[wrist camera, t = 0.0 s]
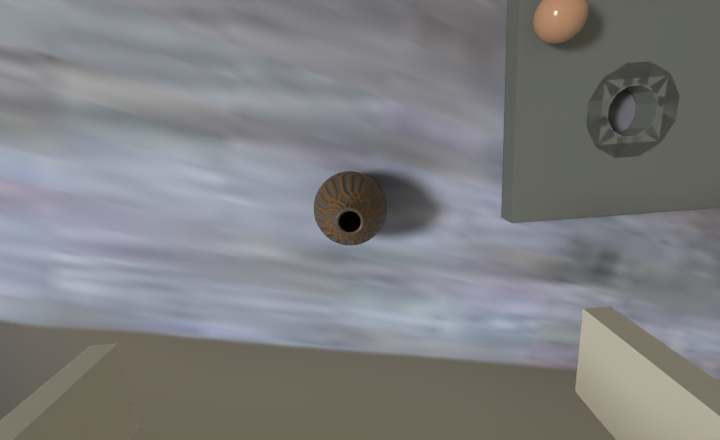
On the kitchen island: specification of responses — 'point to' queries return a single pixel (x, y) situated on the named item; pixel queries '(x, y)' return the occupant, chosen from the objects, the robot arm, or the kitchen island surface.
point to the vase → (350, 208)
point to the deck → (591, 107)
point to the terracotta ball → (559, 19)
